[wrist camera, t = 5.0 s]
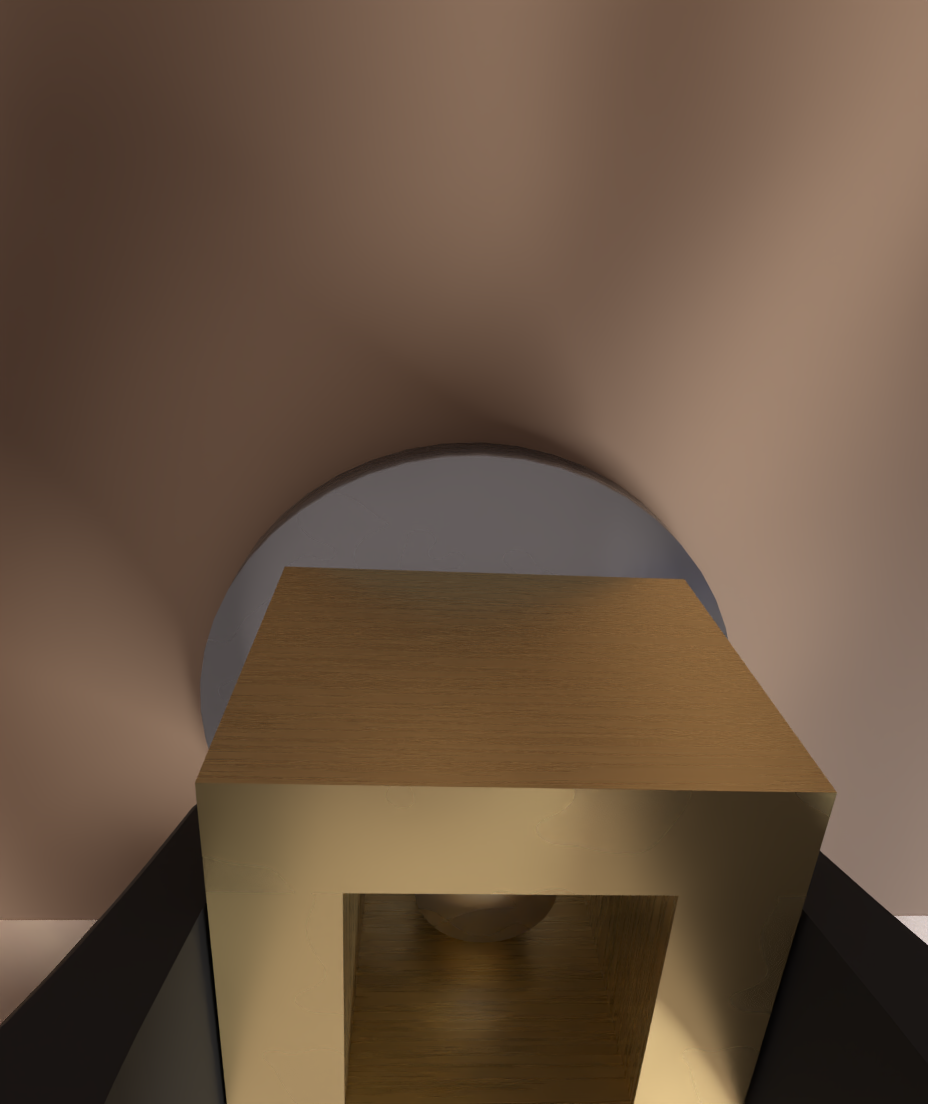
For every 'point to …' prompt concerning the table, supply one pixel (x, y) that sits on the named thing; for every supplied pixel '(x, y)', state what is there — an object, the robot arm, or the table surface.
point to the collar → (500, 843)
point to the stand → (450, 546)
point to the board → (453, 350)
